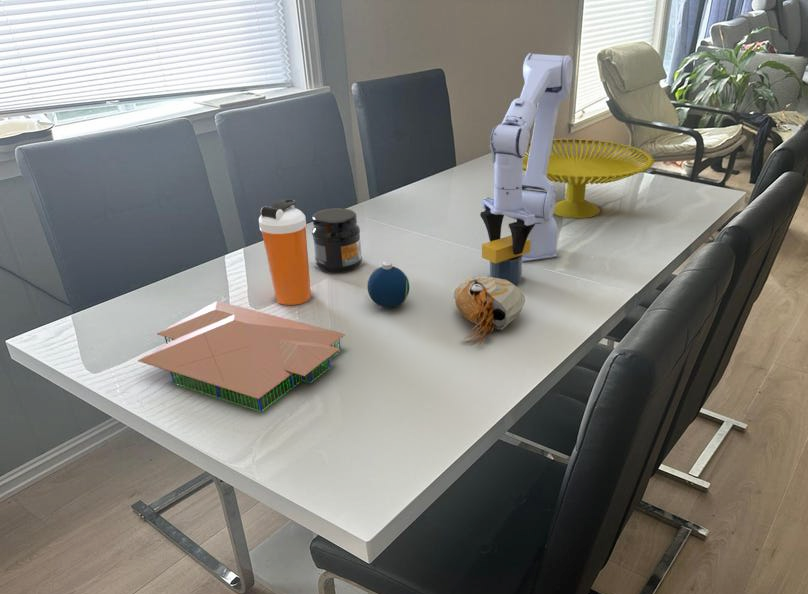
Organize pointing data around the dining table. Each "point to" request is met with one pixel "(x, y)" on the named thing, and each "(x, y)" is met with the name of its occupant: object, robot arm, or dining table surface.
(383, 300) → the christmas ornament
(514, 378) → the dining table surface
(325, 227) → the supplement container
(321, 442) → the dining table surface
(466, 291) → the nautilus
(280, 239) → the shaker bottle
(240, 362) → the house
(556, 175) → the cake stand
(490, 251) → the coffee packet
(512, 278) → the espresso cup
